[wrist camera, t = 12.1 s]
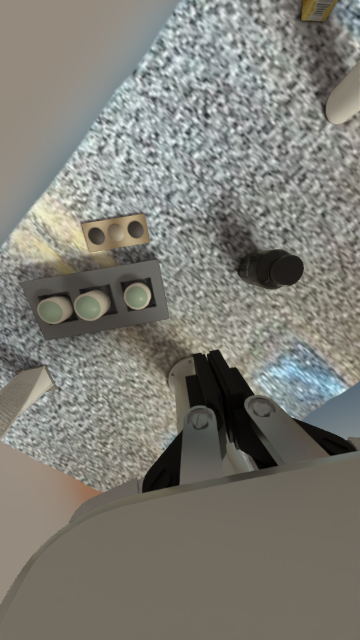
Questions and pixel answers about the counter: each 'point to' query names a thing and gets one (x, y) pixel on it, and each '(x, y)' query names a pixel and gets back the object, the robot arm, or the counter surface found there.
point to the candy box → (316, 9)
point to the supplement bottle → (271, 269)
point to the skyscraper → (23, 394)
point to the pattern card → (116, 233)
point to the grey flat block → (108, 282)
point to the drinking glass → (345, 98)
